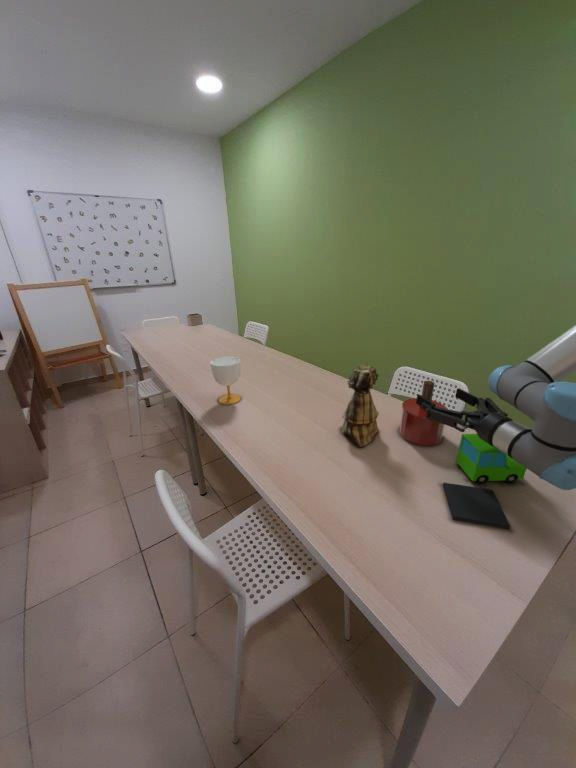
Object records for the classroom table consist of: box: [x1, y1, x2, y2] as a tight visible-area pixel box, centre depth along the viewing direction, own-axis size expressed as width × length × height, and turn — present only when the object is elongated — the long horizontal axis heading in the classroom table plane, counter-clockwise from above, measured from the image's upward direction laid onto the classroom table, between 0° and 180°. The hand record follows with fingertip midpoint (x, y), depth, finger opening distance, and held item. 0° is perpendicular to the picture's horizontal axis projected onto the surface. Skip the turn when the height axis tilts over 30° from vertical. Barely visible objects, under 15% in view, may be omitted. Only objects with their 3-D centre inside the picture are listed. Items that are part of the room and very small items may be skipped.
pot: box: [399, 408, 446, 447], centre depth 96 cm, size 13×13×10 cm
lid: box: [401, 380, 448, 420], centre depth 93 cm, size 13×13×10 cm
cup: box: [209, 356, 241, 405], centre depth 122 cm, size 12×12×17 cm
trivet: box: [442, 482, 511, 530], centre depth 70 cm, size 11×11×1 cm
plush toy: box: [340, 364, 380, 448], centre depth 95 cm, size 14×14×25 cm
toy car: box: [455, 433, 528, 485], centre depth 78 cm, size 10×13×10 cm
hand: (437, 395), depth 87 cm, fingers open, 13 cm apart
